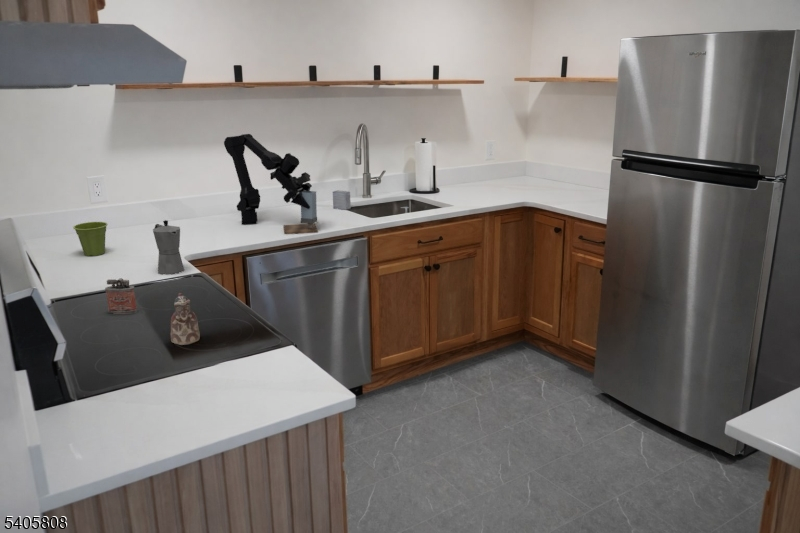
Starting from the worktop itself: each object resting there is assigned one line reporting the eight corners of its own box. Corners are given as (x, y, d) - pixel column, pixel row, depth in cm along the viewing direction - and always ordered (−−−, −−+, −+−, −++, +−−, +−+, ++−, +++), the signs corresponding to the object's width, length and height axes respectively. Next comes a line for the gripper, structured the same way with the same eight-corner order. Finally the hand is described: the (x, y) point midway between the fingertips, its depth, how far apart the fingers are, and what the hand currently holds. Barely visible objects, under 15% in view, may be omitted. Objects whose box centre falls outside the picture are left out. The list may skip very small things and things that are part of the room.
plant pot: (70, 257, 247) (65, 227, 244) (93, 248, 258) (88, 220, 254) (96, 259, 244) (92, 229, 240) (118, 251, 254) (114, 222, 251)
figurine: (170, 346, 166) (165, 301, 163) (172, 335, 173) (167, 292, 169) (199, 342, 168) (195, 298, 165) (200, 332, 175) (195, 290, 171)
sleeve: (300, 222, 280) (299, 192, 277) (305, 220, 285) (305, 190, 282) (312, 223, 279) (311, 193, 275) (317, 221, 284) (316, 191, 280)
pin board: (284, 234, 278) (283, 222, 276) (283, 227, 290) (282, 216, 289) (317, 232, 280) (317, 221, 279) (315, 225, 293) (314, 214, 291)
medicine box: (351, 208, 328) (350, 191, 325) (345, 210, 324) (345, 192, 322) (338, 207, 332) (337, 190, 329) (333, 208, 328) (332, 191, 326)
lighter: (139, 309, 192) (134, 277, 189) (135, 313, 189) (130, 280, 186) (111, 310, 192) (106, 277, 189) (106, 314, 188) (101, 281, 186)
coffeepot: (192, 272, 227) (187, 221, 222) (166, 277, 221) (160, 225, 216) (172, 263, 238) (167, 214, 233) (147, 268, 232) (141, 218, 226)
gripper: (289, 170, 268) (315, 198, 268) (306, 164, 285) (331, 190, 285) (272, 188, 272) (298, 216, 272) (290, 181, 289) (315, 207, 290)
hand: (311, 206), depth 280 cm, fingers closed on sleeve, 5 cm apart
